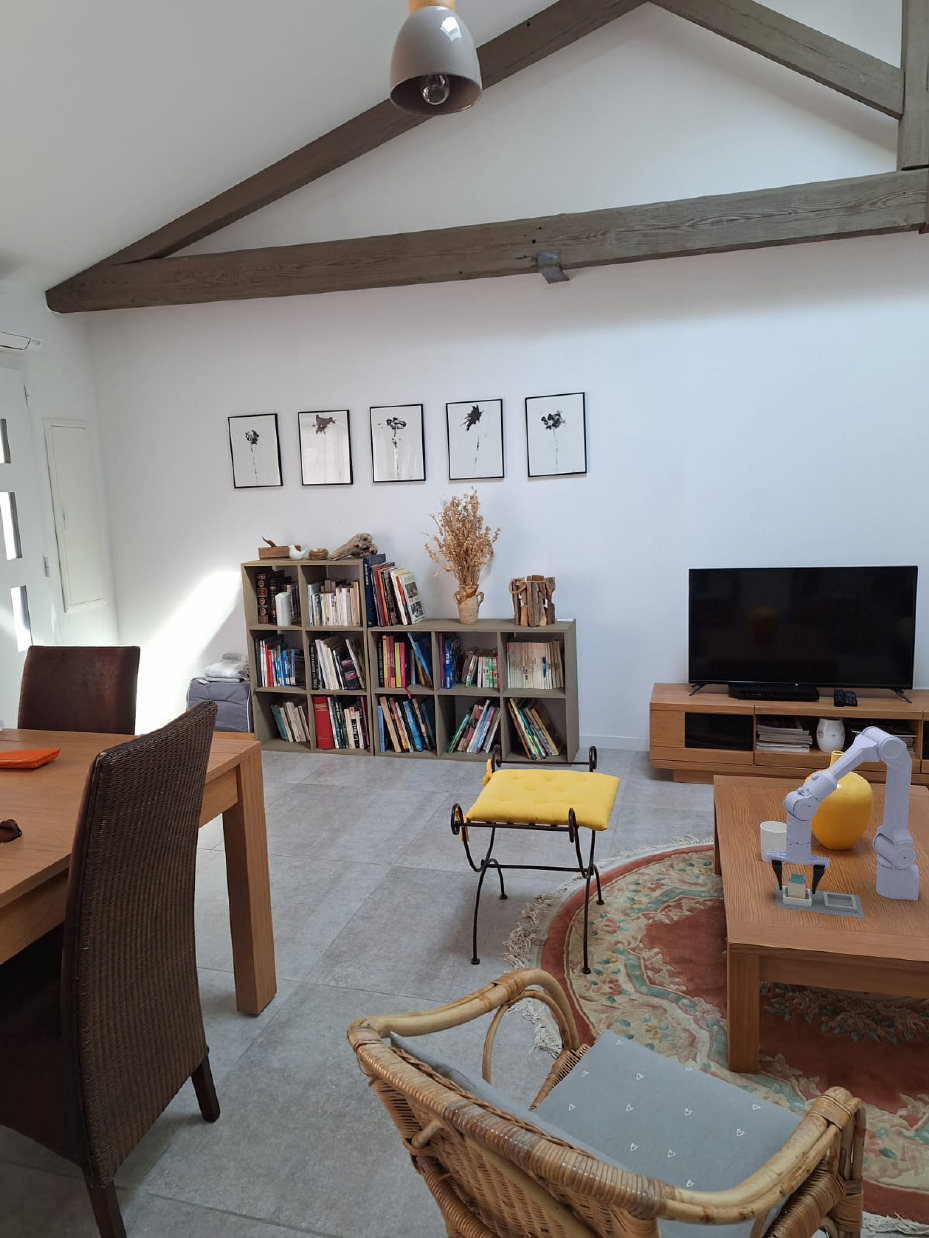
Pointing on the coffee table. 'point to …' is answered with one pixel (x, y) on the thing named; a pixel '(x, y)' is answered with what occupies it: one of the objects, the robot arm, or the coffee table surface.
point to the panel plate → (821, 904)
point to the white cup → (772, 838)
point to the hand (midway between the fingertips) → (796, 890)
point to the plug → (797, 886)
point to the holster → (838, 907)
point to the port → (797, 900)
